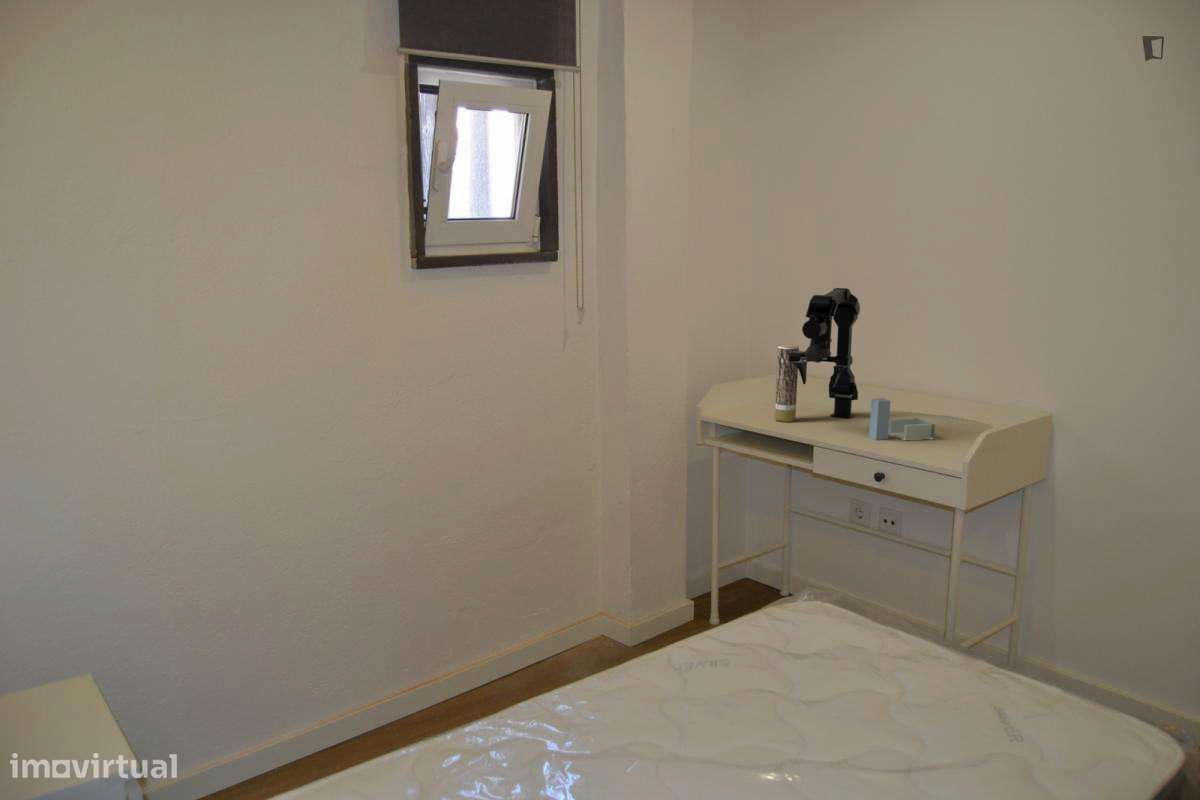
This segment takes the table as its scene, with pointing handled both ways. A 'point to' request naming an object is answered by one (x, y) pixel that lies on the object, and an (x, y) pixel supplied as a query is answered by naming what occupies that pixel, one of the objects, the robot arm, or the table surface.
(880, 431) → the peg
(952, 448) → the table surface
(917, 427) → the slot bay
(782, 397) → the paper tube
